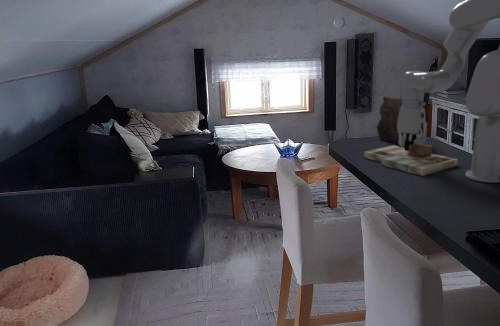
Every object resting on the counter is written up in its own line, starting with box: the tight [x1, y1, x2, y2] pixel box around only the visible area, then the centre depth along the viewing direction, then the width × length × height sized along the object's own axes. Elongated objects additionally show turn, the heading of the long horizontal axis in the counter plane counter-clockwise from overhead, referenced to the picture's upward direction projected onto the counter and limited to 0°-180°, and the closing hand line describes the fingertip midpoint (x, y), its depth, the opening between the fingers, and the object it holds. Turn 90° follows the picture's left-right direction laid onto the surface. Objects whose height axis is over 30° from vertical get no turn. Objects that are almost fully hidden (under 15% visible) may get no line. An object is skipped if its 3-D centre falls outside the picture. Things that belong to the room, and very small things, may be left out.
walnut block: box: [408, 143, 433, 158], centre depth 169 cm, size 6×6×4 cm
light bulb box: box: [397, 122, 428, 148], centre depth 194 cm, size 11×7×11 cm, turn 84°
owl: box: [376, 95, 403, 143], centre depth 207 cm, size 13×13×20 cm
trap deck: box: [363, 144, 459, 177], centre depth 170 cm, size 29×21×2 cm
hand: (408, 150), depth 174 cm, fingers closed
